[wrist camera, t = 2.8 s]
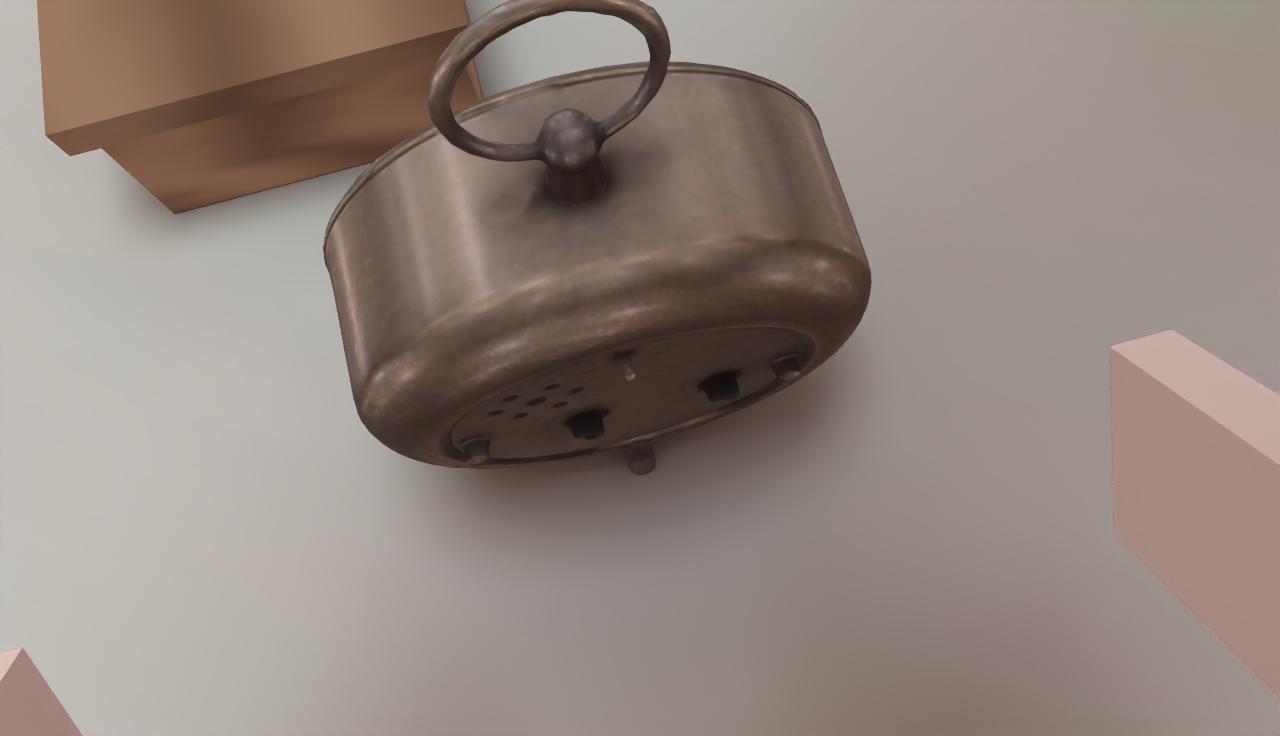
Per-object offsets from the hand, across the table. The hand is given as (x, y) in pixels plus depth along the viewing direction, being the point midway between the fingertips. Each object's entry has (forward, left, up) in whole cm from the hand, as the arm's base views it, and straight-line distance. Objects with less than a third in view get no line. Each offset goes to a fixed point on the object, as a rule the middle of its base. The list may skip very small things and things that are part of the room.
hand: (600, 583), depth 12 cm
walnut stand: (+6, -21, -14) cm, 26 cm away
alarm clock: (-1, -6, -14) cm, 15 cm away
